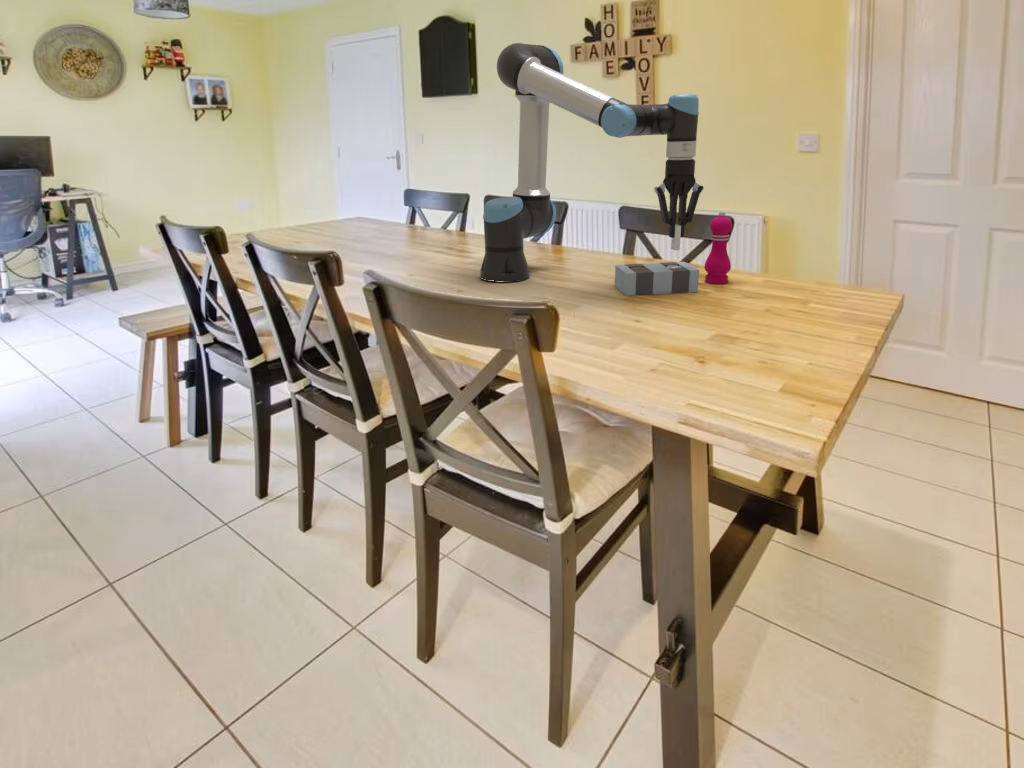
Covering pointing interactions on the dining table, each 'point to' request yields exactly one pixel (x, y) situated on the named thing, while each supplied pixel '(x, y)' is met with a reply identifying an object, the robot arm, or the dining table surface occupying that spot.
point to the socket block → (656, 278)
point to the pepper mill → (718, 251)
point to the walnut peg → (638, 268)
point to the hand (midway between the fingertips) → (675, 249)
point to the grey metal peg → (673, 266)
